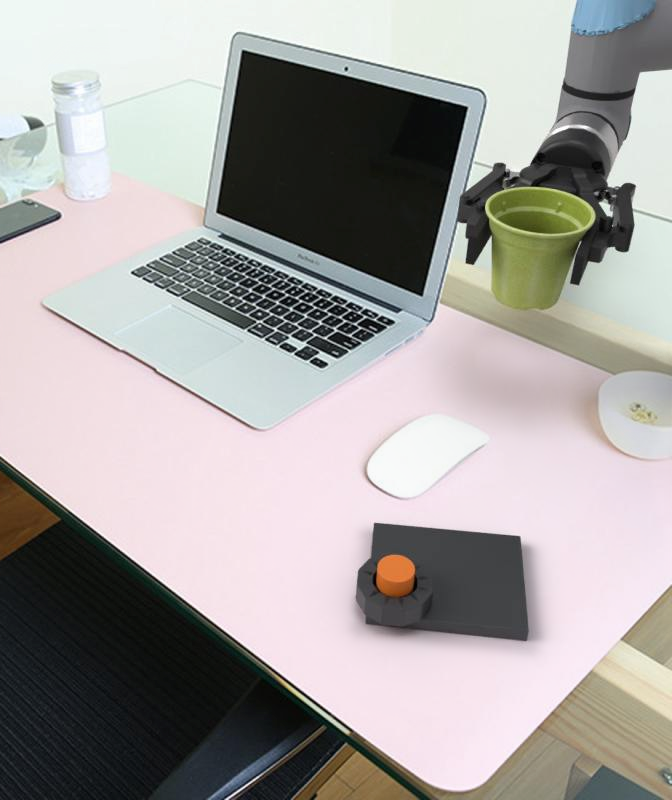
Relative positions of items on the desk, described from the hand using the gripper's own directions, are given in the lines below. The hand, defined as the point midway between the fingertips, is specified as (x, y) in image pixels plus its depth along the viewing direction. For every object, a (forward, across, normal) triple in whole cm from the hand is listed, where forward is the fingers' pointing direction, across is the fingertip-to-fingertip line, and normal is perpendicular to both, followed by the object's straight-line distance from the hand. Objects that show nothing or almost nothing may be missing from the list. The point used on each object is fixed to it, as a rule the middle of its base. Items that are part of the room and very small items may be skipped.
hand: (523, 260), depth 81 cm
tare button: (+26, +2, -15) cm, 30 cm away
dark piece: (+22, -1, -18) cm, 28 cm away
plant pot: (-5, 0, -6) cm, 8 cm away
